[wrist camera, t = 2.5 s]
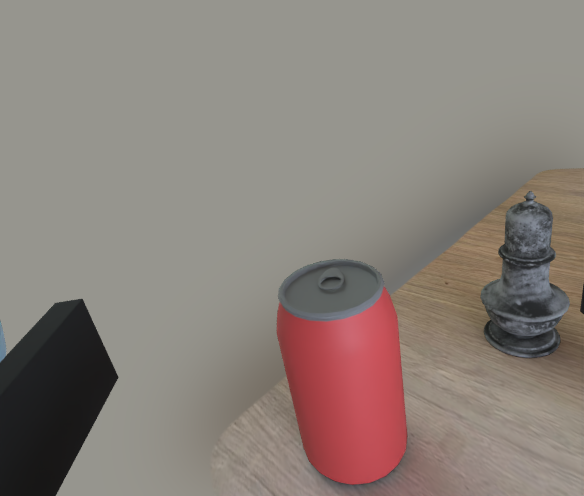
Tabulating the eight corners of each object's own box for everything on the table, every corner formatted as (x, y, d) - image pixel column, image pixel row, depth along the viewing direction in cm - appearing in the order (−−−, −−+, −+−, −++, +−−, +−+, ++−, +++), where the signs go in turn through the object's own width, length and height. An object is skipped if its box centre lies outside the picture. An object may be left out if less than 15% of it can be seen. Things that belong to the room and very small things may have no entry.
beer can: (404, 402, 30) (391, 249, 24) (412, 493, 24) (397, 318, 19) (311, 402, 31) (280, 258, 26) (297, 488, 25) (254, 324, 20)
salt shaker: (513, 304, 37) (521, 171, 32) (582, 338, 32) (604, 187, 27) (463, 332, 35) (463, 194, 30) (528, 371, 30) (541, 215, 25)
